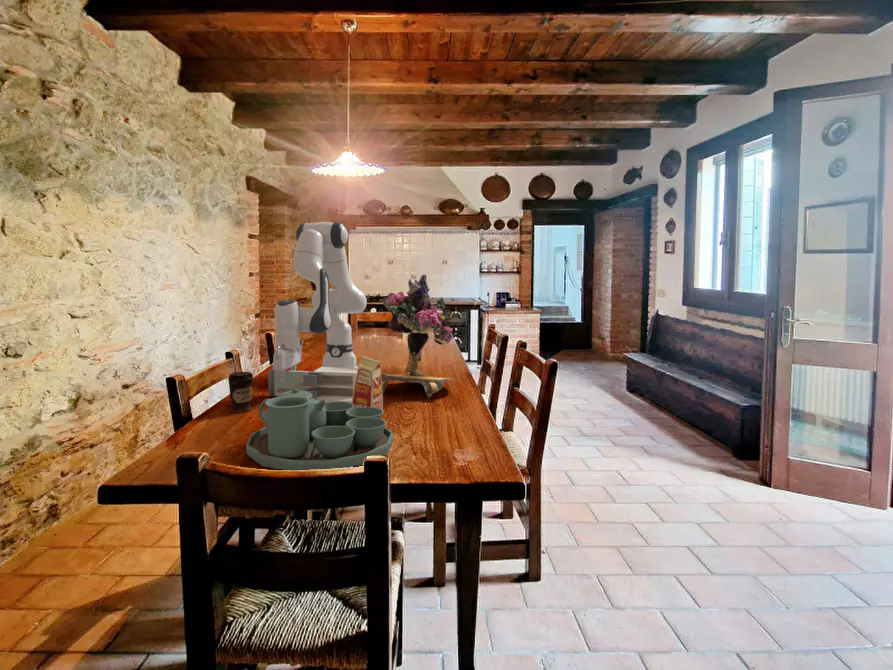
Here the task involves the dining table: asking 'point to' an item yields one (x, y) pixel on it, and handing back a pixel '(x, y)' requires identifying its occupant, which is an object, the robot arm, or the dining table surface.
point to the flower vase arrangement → (423, 319)
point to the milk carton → (368, 385)
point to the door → (292, 381)
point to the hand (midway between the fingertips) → (287, 378)
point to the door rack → (282, 391)
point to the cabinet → (331, 383)
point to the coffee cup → (240, 390)
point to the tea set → (316, 433)
